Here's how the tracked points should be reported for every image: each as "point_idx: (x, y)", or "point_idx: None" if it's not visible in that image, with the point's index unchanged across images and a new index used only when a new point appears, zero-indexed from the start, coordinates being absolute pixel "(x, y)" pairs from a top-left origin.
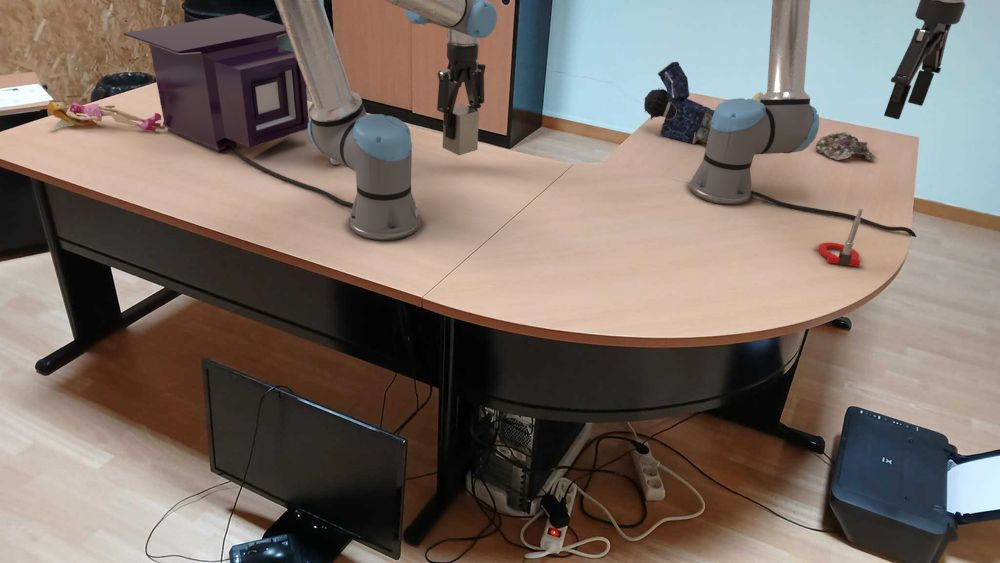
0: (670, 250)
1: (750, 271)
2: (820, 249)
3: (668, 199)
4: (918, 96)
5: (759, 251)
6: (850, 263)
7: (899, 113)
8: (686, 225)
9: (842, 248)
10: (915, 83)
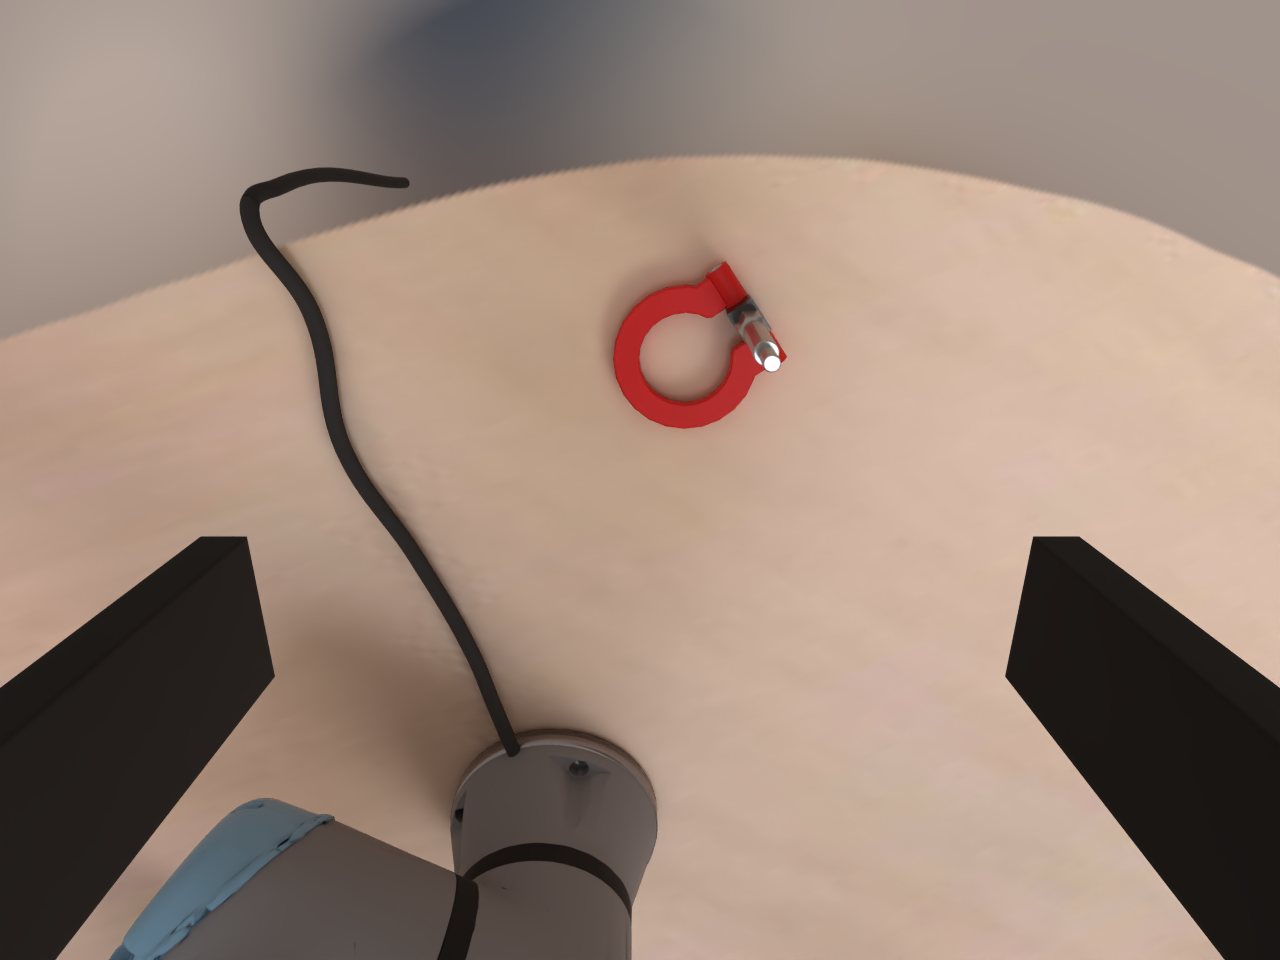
0: None
1: (1022, 505)
2: (730, 410)
3: (741, 871)
4: (206, 653)
5: (866, 546)
6: (744, 290)
7: (1119, 576)
8: (867, 762)
9: (638, 361)
10: (124, 854)
